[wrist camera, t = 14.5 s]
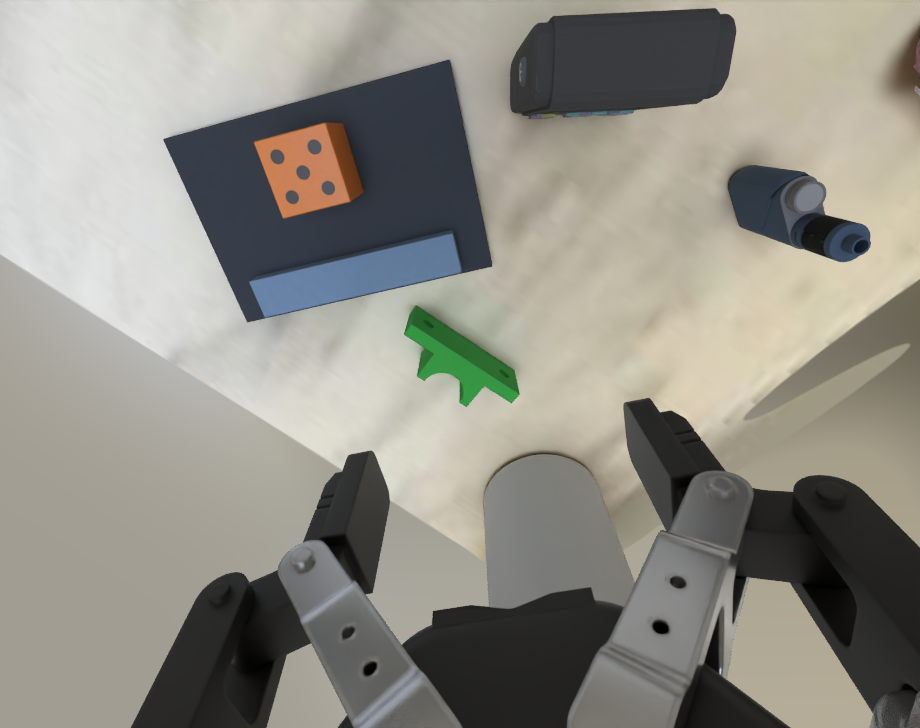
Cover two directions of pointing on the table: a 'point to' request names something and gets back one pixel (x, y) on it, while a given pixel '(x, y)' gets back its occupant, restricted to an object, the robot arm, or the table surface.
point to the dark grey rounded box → (621, 62)
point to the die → (310, 168)
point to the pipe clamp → (458, 359)
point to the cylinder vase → (550, 534)
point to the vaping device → (794, 212)
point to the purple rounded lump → (917, 65)
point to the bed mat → (350, 224)
